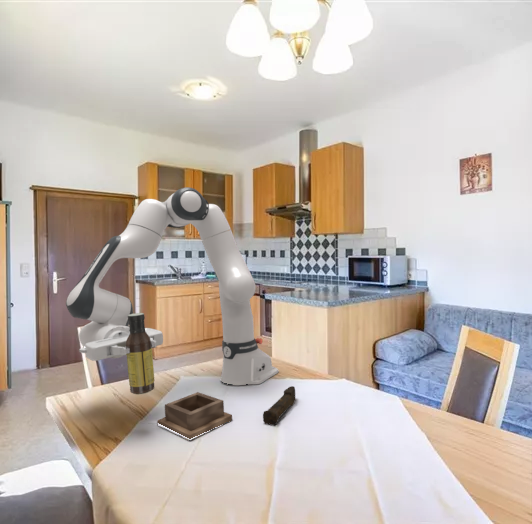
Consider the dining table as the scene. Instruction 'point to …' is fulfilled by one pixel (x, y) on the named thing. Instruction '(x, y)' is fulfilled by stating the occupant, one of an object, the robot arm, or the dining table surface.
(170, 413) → the socket holder
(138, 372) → the sauce bottle
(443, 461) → the dining table surface
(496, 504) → the dining table surface
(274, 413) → the hand tool
